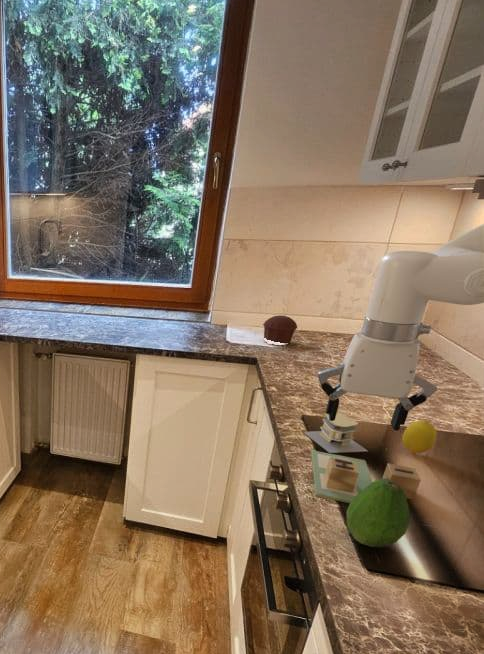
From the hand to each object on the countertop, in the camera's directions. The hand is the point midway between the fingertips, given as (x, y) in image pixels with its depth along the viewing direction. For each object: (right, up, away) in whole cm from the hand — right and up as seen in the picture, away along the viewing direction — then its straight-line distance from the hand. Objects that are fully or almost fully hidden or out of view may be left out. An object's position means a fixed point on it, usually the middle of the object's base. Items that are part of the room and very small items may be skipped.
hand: (362, 422), depth 85 cm
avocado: (-5, -19, -8) cm, 22 cm away
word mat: (+2, -11, +9) cm, 15 cm away
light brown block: (-1, -12, +6) cm, 13 cm away
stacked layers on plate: (+9, -5, +23) cm, 25 cm away
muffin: (+33, +27, +93) cm, 103 cm away
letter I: (+10, -13, +5) cm, 17 cm away
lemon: (+23, -8, +18) cm, 30 cm away
